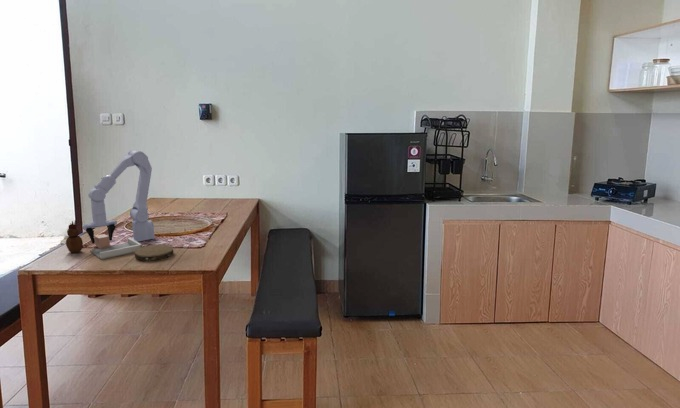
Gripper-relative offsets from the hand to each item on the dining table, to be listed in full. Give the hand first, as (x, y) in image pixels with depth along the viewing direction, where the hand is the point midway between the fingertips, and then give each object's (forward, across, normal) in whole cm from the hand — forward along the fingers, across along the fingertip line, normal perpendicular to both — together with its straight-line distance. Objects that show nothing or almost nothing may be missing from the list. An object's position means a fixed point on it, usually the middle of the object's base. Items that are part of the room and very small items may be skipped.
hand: (101, 241), depth 228 cm
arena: (+2, -2, +13) cm, 13 cm away
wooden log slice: (+3, -12, +32) cm, 34 cm away
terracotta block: (+2, 0, 0) cm, 2 cm away
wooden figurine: (+2, +12, +1) cm, 12 cm away
